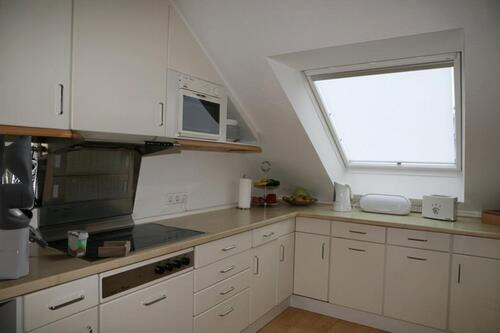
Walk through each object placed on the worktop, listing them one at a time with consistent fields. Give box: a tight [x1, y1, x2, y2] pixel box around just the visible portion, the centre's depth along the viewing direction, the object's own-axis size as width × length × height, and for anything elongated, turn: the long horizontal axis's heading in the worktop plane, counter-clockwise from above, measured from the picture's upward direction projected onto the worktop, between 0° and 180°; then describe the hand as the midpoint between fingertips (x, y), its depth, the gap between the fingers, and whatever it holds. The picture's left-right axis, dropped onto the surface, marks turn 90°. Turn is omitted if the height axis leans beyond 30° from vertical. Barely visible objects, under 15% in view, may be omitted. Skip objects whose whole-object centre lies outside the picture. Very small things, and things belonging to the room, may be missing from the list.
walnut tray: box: [97, 240, 131, 258], centre depth 158 cm, size 12×12×4 cm
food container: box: [67, 230, 89, 258], centre depth 155 cm, size 12×6×10 cm, turn 48°
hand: (45, 246), depth 153 cm, fingers closed
